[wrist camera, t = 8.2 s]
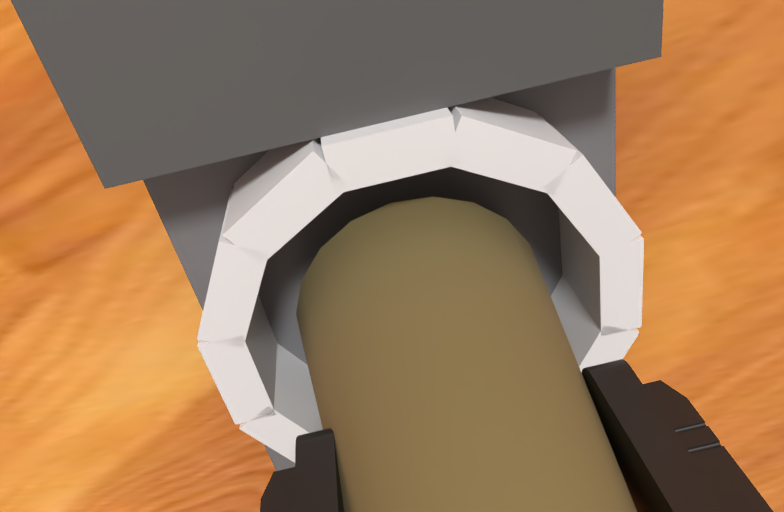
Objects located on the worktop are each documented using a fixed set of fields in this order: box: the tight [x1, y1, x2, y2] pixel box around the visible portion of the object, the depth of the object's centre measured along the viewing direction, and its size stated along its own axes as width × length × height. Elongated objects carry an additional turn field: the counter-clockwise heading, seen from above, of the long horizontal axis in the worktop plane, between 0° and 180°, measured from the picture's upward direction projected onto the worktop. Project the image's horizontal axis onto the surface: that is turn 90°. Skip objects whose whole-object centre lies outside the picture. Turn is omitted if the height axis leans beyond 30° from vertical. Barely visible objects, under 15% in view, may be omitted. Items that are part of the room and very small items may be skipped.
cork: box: [296, 196, 637, 512], centre depth 10 cm, size 6×6×11 cm
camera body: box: [11, 0, 663, 471], centre depth 17 cm, size 11×18×8 cm, turn 11°
